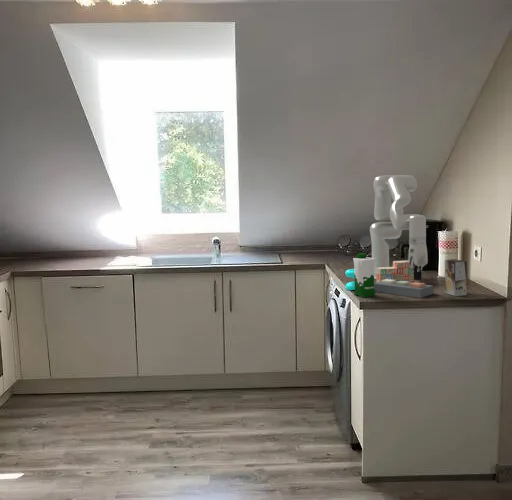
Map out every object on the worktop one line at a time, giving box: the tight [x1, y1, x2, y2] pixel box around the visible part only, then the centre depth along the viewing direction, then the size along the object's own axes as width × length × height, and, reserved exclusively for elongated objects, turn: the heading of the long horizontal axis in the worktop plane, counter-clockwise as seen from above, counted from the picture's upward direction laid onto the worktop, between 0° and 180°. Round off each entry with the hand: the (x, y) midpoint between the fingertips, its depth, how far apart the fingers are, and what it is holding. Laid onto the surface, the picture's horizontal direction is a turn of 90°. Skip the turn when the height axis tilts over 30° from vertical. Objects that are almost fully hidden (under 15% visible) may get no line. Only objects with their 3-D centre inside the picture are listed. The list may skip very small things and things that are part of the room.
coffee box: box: [444, 258, 468, 297], centre depth 251 cm, size 9×6×16 cm
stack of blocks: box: [375, 259, 421, 283], centre depth 281 cm, size 21×6×12 cm, turn 96°
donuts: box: [345, 268, 355, 291], centre depth 271 cm, size 10×10×10 cm
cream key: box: [381, 279, 395, 284], centre depth 265 cm, size 5×5×3 cm
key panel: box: [374, 281, 434, 299], centre depth 259 cm, size 26×12×4 cm, turn 43°
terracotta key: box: [410, 282, 426, 288], centre depth 253 cm, size 5×5×3 cm
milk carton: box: [352, 252, 376, 298], centre depth 254 cm, size 9×9×20 cm
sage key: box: [395, 281, 410, 286], centre depth 259 cm, size 5×5×3 cm
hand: (417, 279), depth 253 cm, fingers closed
